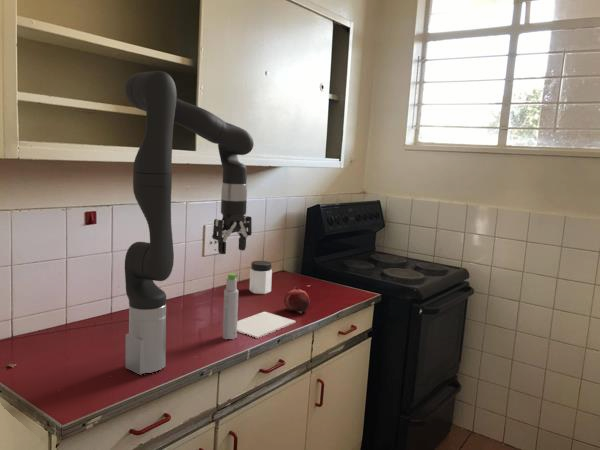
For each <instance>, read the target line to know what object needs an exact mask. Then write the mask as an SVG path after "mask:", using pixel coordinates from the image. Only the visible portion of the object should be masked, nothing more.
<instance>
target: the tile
mask: <svg viewBox="0 0 600 450" xmlns="http://www.w3.org/2000/svg"><path fill="white" fill-rule="evenodd" d="M295 323H297V321H296V320H294V319H291V318H287V317H284V316H281V315H277V314H274V313H271V312H267V311H262V312H259V313H256V314H253V315H252V316H248V317H245V318H242V319H240V320H237V333H240V334H243V335H245V334H247V335H246V336H248V335H249V337H251V336H252V338H254V337H255V339H257V338H258V339H260V338H262V336H263V337H265V336H268V335H269V333H270V334H271V333H272V334H273V333H274V332H276V330H277V331H279V330H281V328H282V329H283V328H286V327H288V326H291V325H293V324H295ZM259 337H260V338H259Z"/></svg>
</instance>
